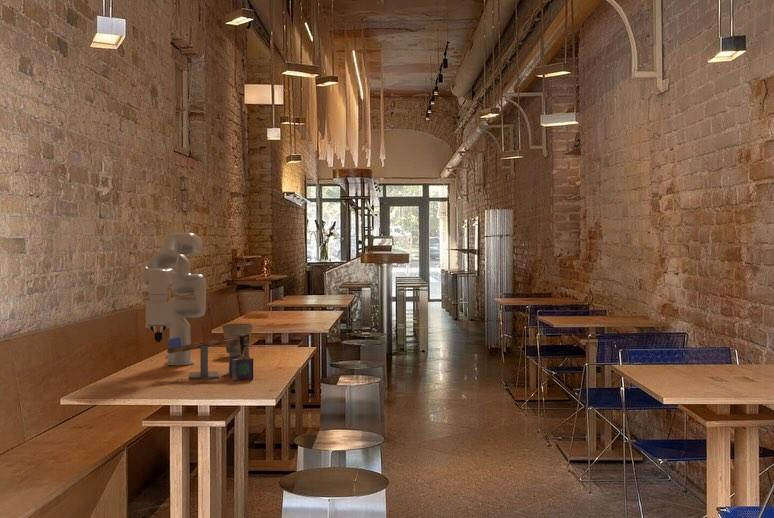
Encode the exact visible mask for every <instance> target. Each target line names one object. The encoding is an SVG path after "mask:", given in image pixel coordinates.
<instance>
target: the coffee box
mask: <svg viewBox="0 0 774 518" xmlns="http://www.w3.org/2000/svg"><path fill="white" fill-rule="evenodd" d="M232 337H239V340H240V347H241V351H236V352H230V353H228V354H229V355H228V357H229V356H233V355H236V359H241V358H240V357H241V355H242V354H243V356H244V357H247V358H248V357H250V342H249V334H234V335H230V336H229V338H232Z"/></svg>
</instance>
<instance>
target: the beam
mask: <svg viewBox="0 0 774 518" xmlns="http://www.w3.org/2000/svg"><path fill="white" fill-rule="evenodd" d="M224 345H225V351H226V354H229V353H230V352H236V351H241V347H240V340H239V337H232V338H226V339H225V338H221V339H217V340H216V339H214V340H210V341H203V342H197V343H192V344H190V345H184V346H182V348H177V349H171V350H170V348H169V347H168V348H167V355H168V354H170V353H176V352H182V351H188V350H191V351H193V350H199V349H200V346H208V348H211V347H216V346H224Z"/></svg>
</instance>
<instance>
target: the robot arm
mask: <svg viewBox="0 0 774 518" xmlns="http://www.w3.org/2000/svg"><path fill="white" fill-rule="evenodd" d="M202 250H203V241H202V239H201V237H200V236H199V235H197V234H196V233H192V232H171V233H168V234H166V235H165V236H164V239H163V242H162V246H161V249H160V251H159V252H158V253H156V254H154V255H153V256H151V257H150V258H149V259H148V260H147V261H145V264H144V266H143V269H142V273H141V281H142V283H143V284H144V285H145V286H148V295H145V298H144V299H145V300H147V302H146V305H145V325H144V328H145V329H150V330H151V331H152V332H153V333H154V341H156V343H161V342H162V341H163V332H164V331H165V330H166V329H169V338H173V337H179V336H180V337H181V343H182V346H184V345H190V344H191V343H192V342H191V325H190V323H189V321H188V320H187V318H200V317H203V316H205V314H206V310H207V309H206V308H207V281H206V278H205V276H204V275H203V274H200V273H191V263H190V260H189V259H188V258H187V257H186V255H199V254H200V253H201V252H202ZM170 267H171V268H170ZM168 286H171V291H172V293H174V294H178V295H195V296H174V297H172V298H170V299H169V300H168ZM157 326H159V327H160V328H159V330H158V328H157ZM191 352H192V350H188V351H182V352H176V353H170V354H168V353H167V355H165V357H164V358H165V359H166V360H167V359H168V360H167V361H166V365H168V366H175V367H178V366H189V365H190V366H191V365H193V364H195V360H193V359H192V358H191V355H192V353H191Z"/></svg>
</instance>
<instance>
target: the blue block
mask: <svg viewBox="0 0 774 518" xmlns="http://www.w3.org/2000/svg"><path fill="white" fill-rule="evenodd" d="M167 341H168V348H170V350H171V349H177V348H182V343H181V337H180V336H179V337H173V338H170V337H168V338H167Z"/></svg>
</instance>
